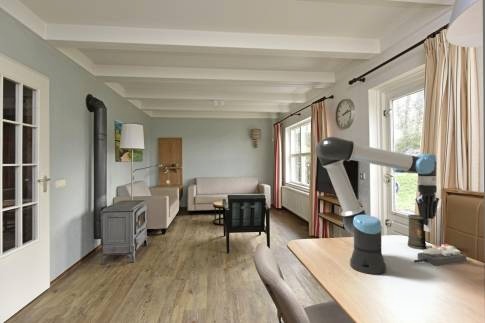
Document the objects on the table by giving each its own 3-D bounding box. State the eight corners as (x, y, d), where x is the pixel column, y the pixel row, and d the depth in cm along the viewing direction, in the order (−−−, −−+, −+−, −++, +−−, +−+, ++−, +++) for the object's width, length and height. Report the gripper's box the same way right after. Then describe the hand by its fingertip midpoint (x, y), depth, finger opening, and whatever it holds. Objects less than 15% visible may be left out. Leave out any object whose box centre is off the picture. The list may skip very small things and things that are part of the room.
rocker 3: (453, 256, 123) (455, 250, 122) (440, 248, 129) (442, 243, 129) (459, 255, 124) (460, 250, 123) (445, 248, 130) (447, 242, 130)
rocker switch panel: (424, 267, 116) (424, 260, 116) (406, 260, 125) (406, 254, 125) (466, 261, 123) (466, 255, 123) (447, 255, 132) (447, 249, 132)
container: (404, 245, 147) (403, 215, 147) (413, 243, 151) (413, 213, 151) (420, 250, 139) (420, 218, 139) (430, 248, 143) (429, 216, 143)
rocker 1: (437, 256, 119) (435, 249, 120) (424, 254, 125) (422, 248, 126) (442, 255, 120) (440, 248, 121) (429, 254, 126) (428, 247, 127)
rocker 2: (444, 257, 122) (446, 251, 121) (431, 249, 128) (433, 244, 127) (450, 256, 123) (451, 251, 122) (436, 249, 129) (438, 243, 128)
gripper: (424, 185, 120) (424, 234, 120) (444, 184, 124) (445, 232, 124) (410, 184, 128) (410, 230, 127) (429, 183, 131) (430, 228, 131)
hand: (427, 231), depth 126 cm, fingers closed
